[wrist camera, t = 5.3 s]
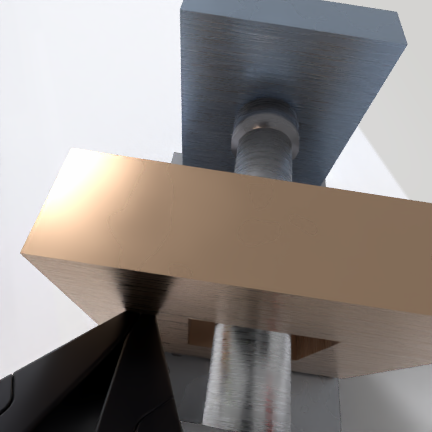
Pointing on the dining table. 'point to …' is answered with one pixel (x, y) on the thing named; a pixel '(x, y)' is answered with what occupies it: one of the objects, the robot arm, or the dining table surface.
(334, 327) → the wooden block on rod
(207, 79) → the stand
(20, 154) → the dining table surface
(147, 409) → the robot arm
